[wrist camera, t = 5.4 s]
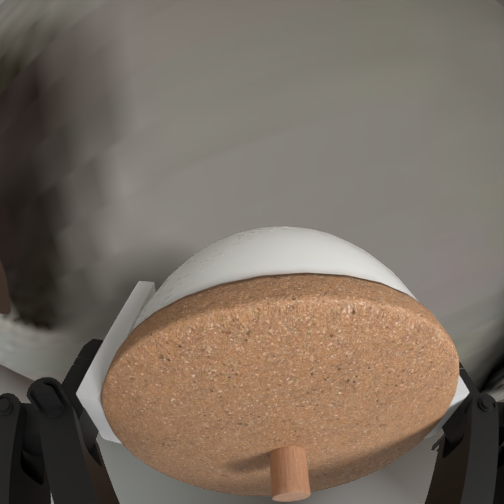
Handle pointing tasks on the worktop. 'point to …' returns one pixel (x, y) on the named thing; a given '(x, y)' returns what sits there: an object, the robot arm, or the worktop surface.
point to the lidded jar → (279, 367)
